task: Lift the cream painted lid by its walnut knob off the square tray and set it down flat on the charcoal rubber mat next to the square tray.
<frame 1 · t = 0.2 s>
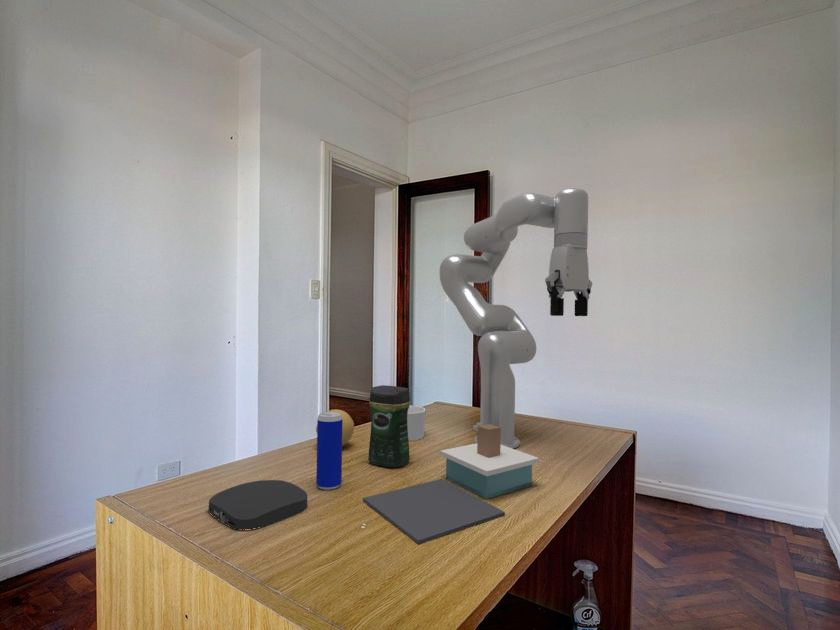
hand: (569, 315, 106), 36 cm above the table, tool pointing down, fingers open, 9 cm apart
media streaming box: (258, 510, 83), on the table
lid: (488, 458, 98), point 5 cm above the table, touching square tray
beverage can: (328, 486, 94), on the table
mat: (431, 507, 84), on the table
mug: (407, 435, 133), on the table
stress ball: (335, 447, 120), on the table
square tray: (488, 481, 98), on the table
coffee jar: (388, 463, 109), on the table
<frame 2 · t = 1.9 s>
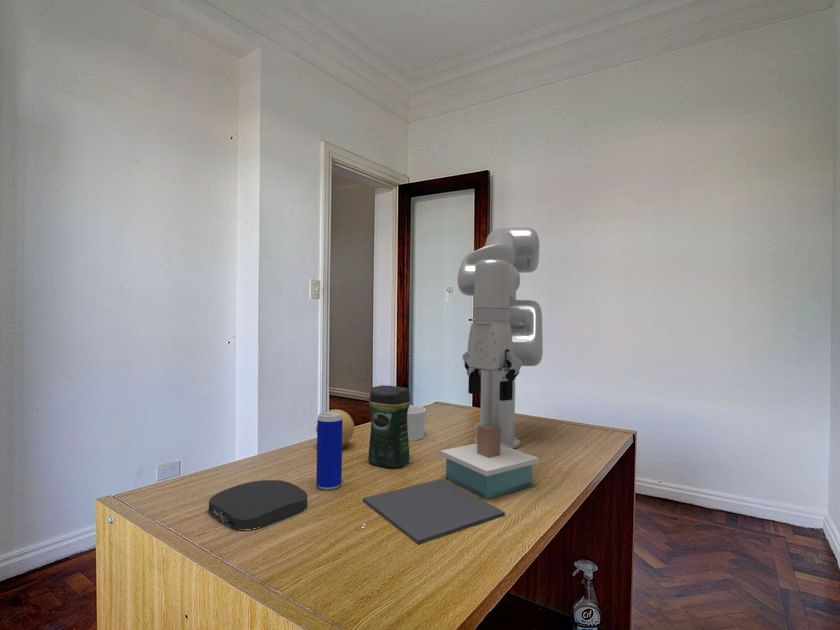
hand: (489, 396, 97), 19 cm above the table, tool pointing down, fingers open, 9 cm apart
nothing on the table moved.
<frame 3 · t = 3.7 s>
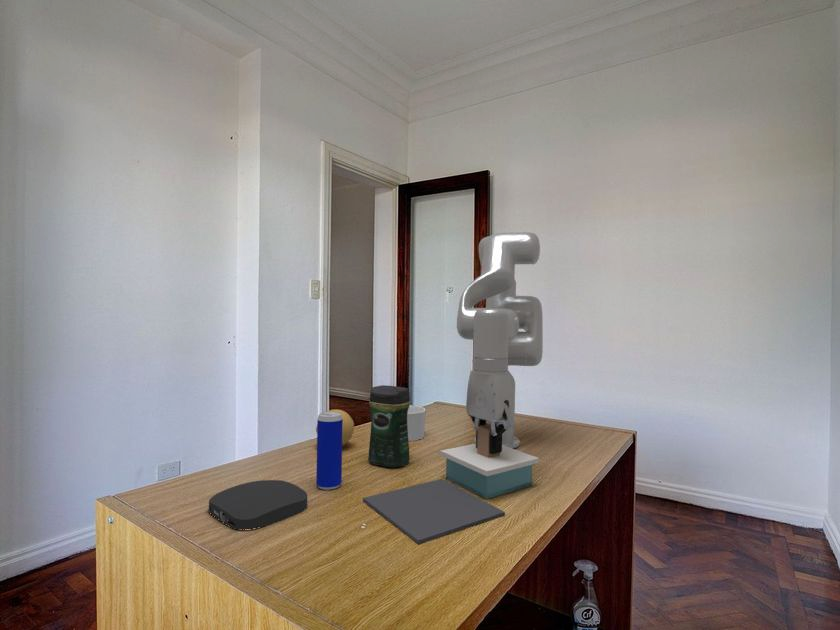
hand: (488, 449, 98), 7 cm above the table, tool pointing down, fingers closed on lid, 3 cm apart
lid: (488, 458, 98), point 5 cm above the table, touching square tray, gripper
everything else where it was.
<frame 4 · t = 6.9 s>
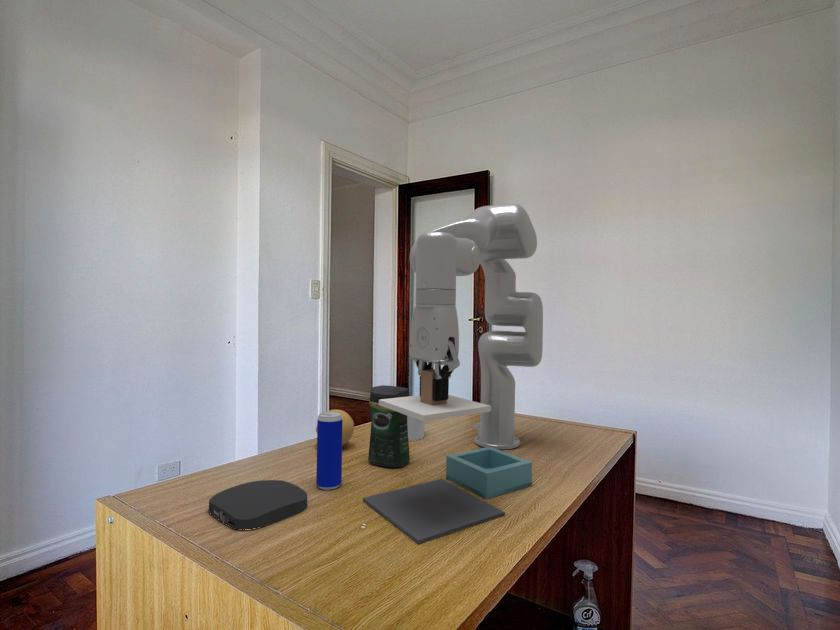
hand: (433, 397, 84), 21 cm above the table, tool pointing down, fingers closed on lid, 3 cm apart
lid: (433, 408, 84), point 19 cm above the table, touching gripper
everything else where it was.
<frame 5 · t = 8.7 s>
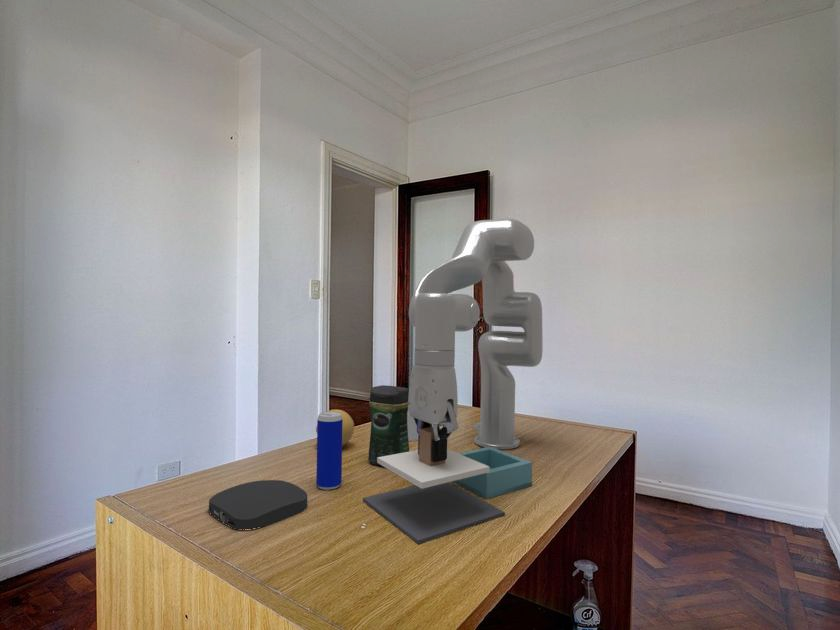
hand: (432, 456, 84), 10 cm above the table, tool pointing down, fingers closed on lid, 3 cm apart
lid: (432, 467, 84), point 8 cm above the table, touching gripper
everything else where it was.
when the fingers open (4 cm above the table, at t = 10.1 s): lid drops 2 cm, resting on mat.
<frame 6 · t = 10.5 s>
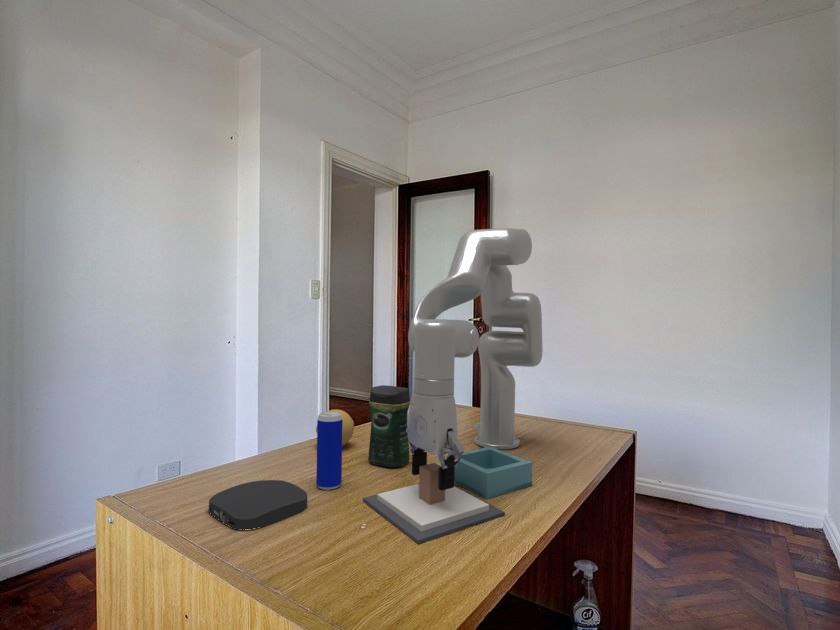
hand: (432, 480, 84), 5 cm above the table, tool pointing down, fingers open, 8 cm apart
lid: (431, 504, 84), point 1 cm above the table, touching mat
everything else where it was.
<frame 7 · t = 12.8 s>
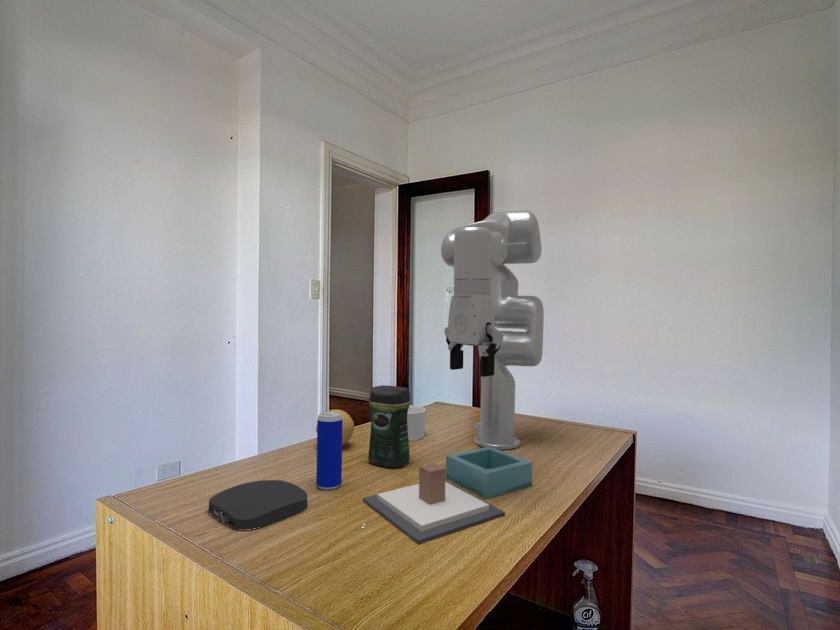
hand: (471, 372, 92), 24 cm above the table, tool pointing down, fingers open, 9 cm apart
nothing on the table moved.
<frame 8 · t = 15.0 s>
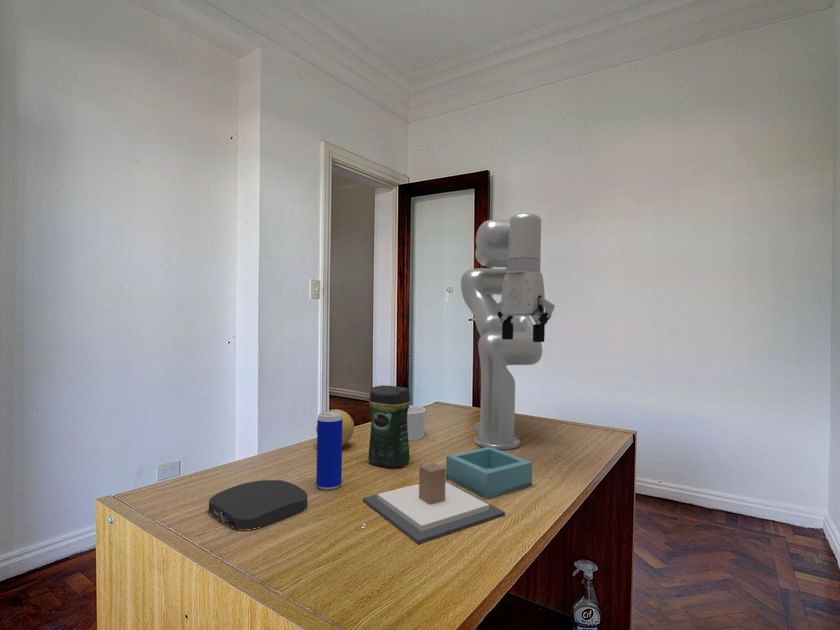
hand: (522, 340, 106), 30 cm above the table, tool pointing down, fingers open, 9 cm apart
nothing on the table moved.
at the end: lid inside the target area on the mat (0.0 cm from its centre), point 0.6 cm above the mat's base; lid tilted 0°; the gripper is holding nothing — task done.
